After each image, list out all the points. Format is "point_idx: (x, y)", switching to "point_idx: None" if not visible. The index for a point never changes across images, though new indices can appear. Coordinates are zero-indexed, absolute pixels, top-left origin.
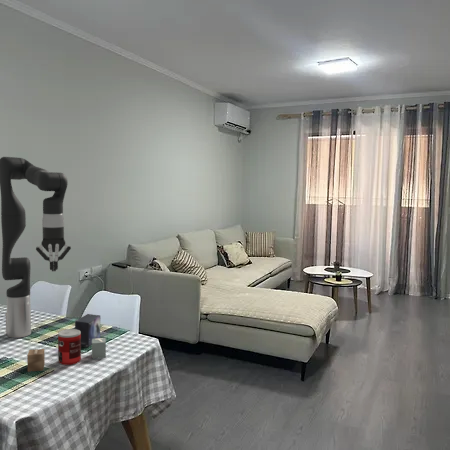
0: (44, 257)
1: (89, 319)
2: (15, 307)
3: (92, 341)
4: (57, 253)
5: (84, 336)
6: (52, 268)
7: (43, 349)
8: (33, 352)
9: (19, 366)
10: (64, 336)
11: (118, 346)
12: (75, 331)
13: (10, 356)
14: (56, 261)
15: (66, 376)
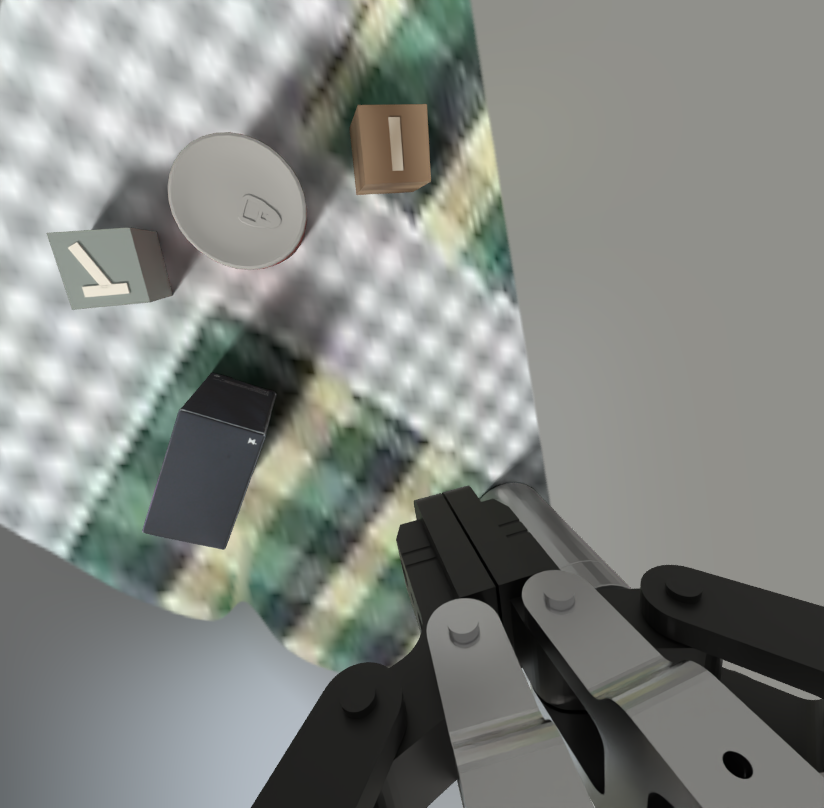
0: (743, 602)
1: (187, 459)
2: (575, 553)
3: (135, 258)
4: (497, 802)
5: (220, 390)
6: (472, 505)
7: (368, 175)
8: (406, 139)
9: (450, 194)
10: (254, 139)
11: (59, 374)
12: (210, 233)
13: (499, 306)
14: (447, 604)
15: (227, 23)
